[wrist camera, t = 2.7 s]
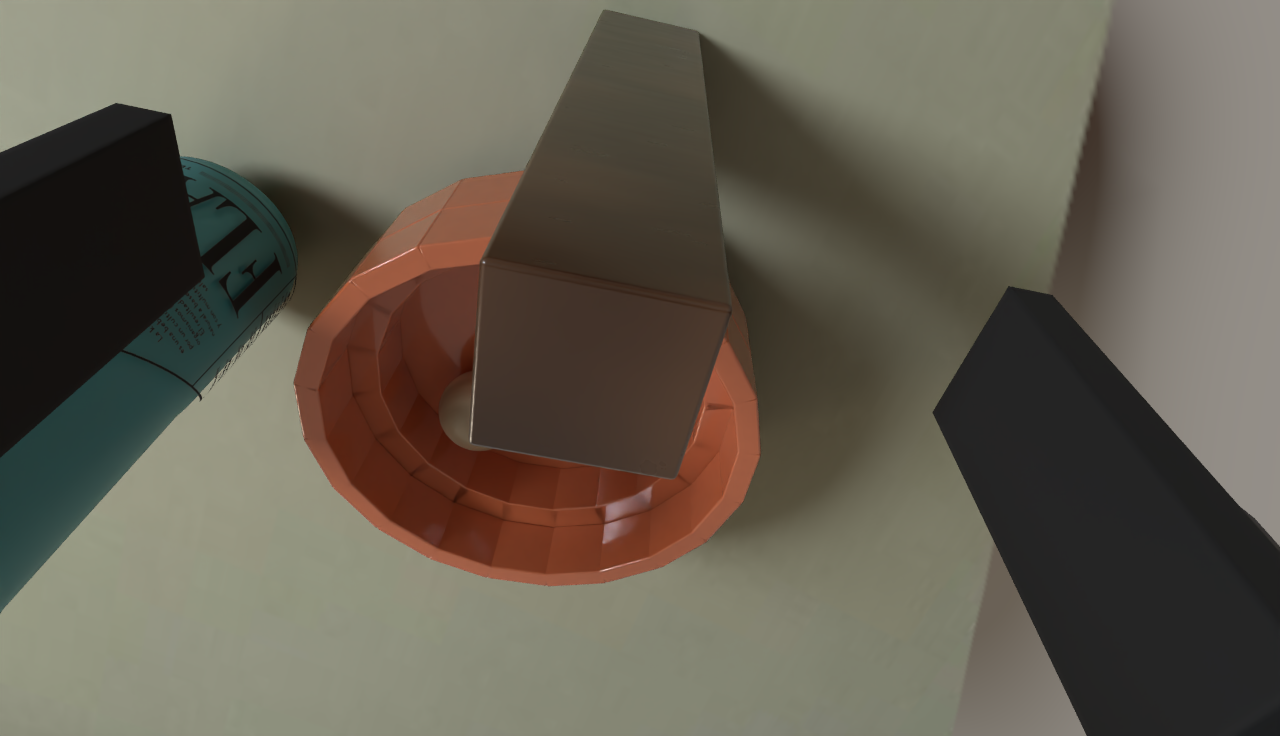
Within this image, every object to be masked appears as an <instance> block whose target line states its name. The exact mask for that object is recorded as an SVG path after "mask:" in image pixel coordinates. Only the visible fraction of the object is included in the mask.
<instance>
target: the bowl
mask: <svg viewBox="0 0 1280 736" xmlns="http://www.w3.org/2000/svg"><path fill="white" fill-rule="evenodd" d="M523 172H524V171H518V172H510V173H503V174H495V175H488V176H480V177H473V178H466V179H462V180H459V181H457V182H456V183H454V184H452V185H450V186H448V187H446V188H444V189H442V190H440V191H438V192H436V193H434V194H432V195H430V196H428V197H426V198H424V199H422V200H420V201H419V202H417V203H415V204H413V205H411V206H409V207H407V208H405V210H404V211H402V212H401V213H400V215H399V216H398V217H397V218H396V219H395V220H394V222H393V223H392V224H391V225H390V226H389V227H388V229H387V230H386V231H385V232H384V233H383V234H382V236H381V237H380V238H379V239H378V240H377V241H376V242H375V244H374V245H373V246H372V247H371V248H370V249H369V251H368V252H367V253H366V254H365V256H364V257H363V258H362V259H361V261H360V262H359V263H358V264H357V266H356V267H355V268H354V270H353V271H352V272H351V273H350V275H349V276H348V277H347V278H346V280H345V281H344V282H343V284H342V285H341V286H340V287H339V289H338V290H337V291H336V292H335V294H334V295H333V296H332V297H331V299H330V300H329V301H328V303H327V304H326V305H325V306H324V308H323V309H322V310H321V311H320V313H319V314H318V315H317V316H316V318H315V319H314V320H313V322H312V323H311V324H310V326H309V327H308V329H307V332H306V336H305V340H304V344H303V348H302V351H301V355H300V359H299V363H298V367H297V371H296V374H295V378H294V389H295V394H296V400H297V405H298V411H299V416H300V421H301V427H302V432H303V437H304V440H305V442H306V444H307V445H308V447H309V449H310V450H311V452H312V454H313V455H314V457H315V459H316V460H317V462H318V464H319V465H320V467H321V469H322V470H323V472H324V474H325V475H326V477H327V479H328V480H329V482H330V484H331V485H332V487H334V489H335V490H336V491H337V492H338V493H339V494H340V495H341V496H343V497H344V498H345V499H346V500H347V501H348V502H349V503H350V504H351V505H352V506H353V507H354V508H355V509H356V510H358V511H359V512H360V513H361V514H362V515H363V516H364V517H365V518H366V519H367V520H368V521H369V522H370V523H372V524H373V525H374V526H375V527H376V528H378V529H379V530H381V531H382V532H384V533H386V534H388V535H389V536H391V537H393V538H395V539H396V540H398V541H400V542H402V543H403V544H405V545H407V546H408V547H410V548H412V549H414V550H415V551H417V552H419V553H421V554H422V555H424V556H426V557H428V558H430V559H432V560H435V561H438V562H441V563H444V564H447V565H450V566H453V567H456V568H459V569H462V570H465V571H468V572H471V573H474V574H477V575H480V576H483V577H486V578H487V577H488V578H492V579H500V580H507V581H514V582H522V583H529V584H536V585H543V586H546V585H547V586H562V585H580V584H599V583H605V582H610V581H614V580H618V579H621V578H625V577H629V576H632V575H636V574H640V573H643V572H647V571H651V570H654V569H658V568H659V567H660V568H662V567H663V566H665V565H667V564H669V563H670V562H672V561H674V560H676V559H677V558H679V557H681V556H683V555H684V554H686V553H688V552H690V551H692V550H693V549H695V548H697V547H699V546H700V545H702V544H704V543H706V542H707V540H709V539H710V538H711V536H712V535H713V534H714V533H715V532H716V531H717V530H718V529H719V528H720V527H721V526H722V525H723V523H724V522H725V521H726V520H727V519H728V518H729V517H730V516H731V515H732V514H733V513H734V511H735V510H736V509H737V508H738V507H739V506H740V505H741V503H743V501H744V498H745V496H746V493H747V491H748V488H749V485H750V483H751V480H752V477H753V475H754V472H755V469H756V467H757V464H758V462H759V459H760V456H761V442H760V426H759V410H758V397H757V391H756V384H755V377H754V370H753V364H752V357H751V350H750V343H749V336H748V329H747V323H746V317H745V313H744V311H743V309H742V307H741V305H740V303H739V301H738V299H737V297H736V295H735V293H734V290H733V288H732V286H731V284H730V282H729V286H730V294H731V302H732V310H733V312H732V315H731V318H730V321H729V324H728V327H727V330H726V333H725V336H724V339H723V341H722V344H721V347H720V350H719V353H718V356H717V359H716V362H715V365H714V368H713V371H712V374H711V377H710V380H709V383H708V386H707V389H706V392H705V395H704V398H703V401H702V404H701V407H700V410H699V413H698V416H697V419H696V422H695V425H694V428H693V431H692V434H691V437H690V440H689V443H688V446H687V449H686V452H685V455H684V458H683V461H682V464H681V467H680V470H679V473H678V475H677V477H676V478H675V479H672V480H670V479H664V478H658V477H653V476H647V475H641V474H635V473H630V472H624V471H618V470H612V469H607V468H601V467H595V466H589V465H584V464H578V463H572V462H566V461H561V460H555V459H549V458H543V457H538V456H532V455H526V454H521V453H515V452H509V451H503V450H498V449H491V450H486V451H472V450H468V449H465V448H462V447H460V446H458V445H457V444H455V443H454V442H453V441H452V440H451V439H450V438H449V437H448V436H447V435H446V434H445V432H444V430H443V428H442V426H441V423H440V420H439V412H438V410H439V402H440V399H441V396H442V394H443V392H444V390H445V388H446V387H447V386H448V385H449V383H450V382H451V381H453V380H454V379H455V378H456V377H458V376H460V375H462V374H464V373H466V372H469V371H473V357H474V341H475V326H476V311H477V295H478V280H479V264H480V260H481V258H482V256H483V254H484V252H485V250H486V248H487V246H488V244H489V242H490V239H491V237H492V235H493V233H494V231H495V229H496V227H497V225H498V223H499V221H500V219H501V217H502V215H503V213H504V211H505V209H506V207H507V205H508V203H509V201H510V199H511V197H512V195H513V193H514V191H515V189H516V187H517V185H518V182H519V180H520V178H521V176H522V174H523Z"/></svg>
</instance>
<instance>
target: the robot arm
mask: <svg viewBox="0 0 1280 736" xmlns="http://www.w3.org/2000/svg"><path fill="white" fill-rule="evenodd" d="M204 278H205V274H204V270H203V265H202V260H201V255H200V250H199V246H198V241H197V236H196V231H195V226H194V222H193V217H192V212H191V207H190V202H189V198H188V193H187V188H186V183H185V178H184V174H183V169H182V164H181V159H180V154H179V150H178V145H177V140H176V135H175V130H174V126H173V121H172V116H171V114H167V113H162V112H157V111H153V110H148V109H143V108H138V107H133V106H128V105H123V104H118V103H115V104H113V105H110V106H108V107H106V108H103V109H101V110H99V111H96V112H94V113H92V114H89V115H87V116H85V117H82V118H80V119H78V120H75V121H73V122H71V123H68V124H66V125H64V126H61V127H59V128H57V129H54V130H52V131H50V132H47V133H45V134H43V135H40V136H38V137H36V138H33V139H31V140H29V141H26V142H24V143H22V144H19V145H17V146H15V147H12V148H10V149H8V150H5V151H3V152H0V458H1V457H2V456H3V455H4V454H5V453H6V452H8V451H9V450H10V449H11V448H12V447H13V446H14V445H15V444H17V443H18V442H19V441H20V440H21V439H22V438H23V437H25V436H26V435H27V434H28V433H29V432H30V431H31V430H32V429H34V428H35V427H36V426H37V425H38V424H39V423H40V422H42V421H43V420H44V419H45V418H46V417H47V416H48V415H49V414H51V413H52V412H53V411H54V410H55V409H56V408H57V407H59V406H60V405H61V404H62V403H63V402H64V401H65V400H66V399H68V398H69V397H70V396H71V395H72V394H73V393H74V392H76V391H77V390H78V389H79V388H80V387H81V386H82V385H83V384H85V383H86V382H87V381H88V380H89V379H90V378H91V377H93V376H94V375H95V374H96V373H97V372H98V371H99V370H100V369H102V368H103V367H104V366H105V365H106V364H107V363H108V362H110V361H111V360H112V359H113V358H114V357H115V356H116V355H117V354H119V353H120V352H121V351H122V350H123V349H124V348H125V347H127V346H128V345H129V344H130V343H131V342H132V341H133V340H134V339H136V338H137V337H138V336H139V335H140V334H141V333H142V332H144V331H145V330H146V329H147V328H148V327H149V326H150V325H151V324H153V323H154V322H155V321H156V320H157V319H158V318H159V317H161V316H162V315H163V314H164V313H165V312H166V311H167V310H168V309H170V308H171V307H172V306H173V305H174V304H175V303H176V302H178V301H179V300H180V299H181V298H182V297H183V296H184V295H185V294H187V293H188V292H189V291H190V290H191V289H192V288H193V287H195V286H196V285H197V284H198V283H199V282H200V281H201V280H202V279H204ZM933 414H934V416H935V419H936V421H937V423H938V425H939V427H940V429H941V431H942V433H943V435H944V437H945V439H946V442H947V444H948V446H949V448H950V450H951V452H952V454H953V456H954V458H955V460H956V463H957V465H958V467H959V469H960V471H961V473H962V475H963V477H964V479H965V481H966V483H967V486H968V488H969V490H970V492H971V494H972V496H973V498H974V500H975V502H976V504H977V507H978V509H979V511H980V513H981V515H982V517H983V519H984V521H985V523H986V525H987V527H988V530H989V532H990V534H991V536H992V538H993V540H994V542H995V544H996V546H997V548H998V550H999V552H1000V555H1001V557H1002V559H1003V561H1004V563H1005V565H1006V567H1007V569H1008V571H1009V574H1010V576H1011V577H1012V580H1013V582H1014V584H1015V586H1016V588H1017V590H1018V592H1019V594H1020V597H1021V599H1022V601H1023V603H1024V605H1025V607H1026V609H1027V611H1028V613H1029V615H1030V617H1031V620H1032V622H1033V624H1034V626H1035V628H1036V630H1037V632H1038V634H1039V636H1040V638H1041V641H1042V643H1043V645H1044V647H1045V649H1046V651H1047V653H1048V655H1049V657H1050V659H1051V661H1052V664H1053V666H1054V668H1055V670H1056V672H1057V674H1058V676H1059V678H1060V680H1061V683H1062V685H1063V686H1064V689H1065V691H1066V693H1067V695H1068V697H1069V699H1070V701H1071V703H1072V706H1073V708H1074V710H1075V712H1076V714H1077V716H1078V718H1079V720H1080V722H1081V724H1082V727H1083V729H1084V731H1085V733H1086V735H1087V736H1280V547H1279V545H1278V544H1277V543H1276V542H1275V541H1274V540H1273V538H1272V537H1271V536H1270V535H1269V534H1268V533H1267V532H1266V531H1265V529H1264V528H1263V527H1262V526H1261V525H1260V524H1259V523H1258V522H1257V520H1255V518H1253V517H1252V516H1251V515H1250V514H1248V513H1247V512H1246V511H1245V510H1243V509H1242V508H1241V507H1240V506H1239V505H1238V504H1237V503H1236V502H1235V501H1234V500H1233V498H1232V497H1231V496H1230V495H1229V494H1228V493H1227V492H1226V491H1225V489H1224V488H1223V487H1222V486H1221V485H1220V484H1219V483H1218V482H1217V481H1216V479H1215V478H1214V477H1213V476H1212V475H1211V474H1210V472H1209V471H1208V470H1207V469H1206V468H1205V467H1204V466H1203V465H1202V464H1201V462H1200V461H1199V460H1198V459H1197V458H1196V457H1195V456H1194V455H1193V454H1192V452H1191V451H1190V450H1189V449H1188V448H1187V447H1186V445H1185V444H1184V443H1183V442H1182V441H1181V440H1180V439H1179V438H1178V437H1177V435H1176V434H1175V433H1174V432H1173V431H1172V430H1171V428H1169V426H1168V425H1167V424H1166V423H1165V422H1164V421H1163V420H1162V418H1161V417H1160V416H1159V415H1158V414H1157V413H1156V412H1155V410H1154V409H1153V408H1152V407H1151V406H1150V405H1149V404H1148V403H1147V401H1146V400H1145V399H1144V398H1143V397H1142V396H1141V395H1140V394H1139V392H1138V391H1137V390H1136V389H1135V388H1134V387H1133V386H1132V384H1131V383H1130V382H1129V381H1128V380H1127V379H1126V378H1125V377H1124V376H1123V374H1122V373H1121V372H1120V371H1119V370H1118V369H1117V368H1116V366H1115V365H1114V364H1113V363H1112V362H1111V361H1110V360H1109V359H1108V358H1107V356H1106V355H1105V354H1104V353H1103V352H1102V351H1101V350H1100V348H1099V347H1098V346H1097V345H1096V344H1095V343H1094V342H1093V340H1092V339H1091V338H1090V337H1089V336H1088V335H1087V334H1086V333H1085V332H1084V330H1083V329H1082V328H1081V327H1080V326H1079V325H1078V324H1077V322H1076V321H1075V320H1074V319H1073V318H1072V317H1071V316H1070V315H1069V313H1068V312H1067V311H1066V310H1065V309H1064V308H1063V307H1062V305H1061V304H1060V303H1059V302H1058V301H1057V300H1056V299H1055V298H1054V297H1053V295H1049V294H1044V293H1040V292H1035V291H1030V290H1025V289H1020V288H1015V287H1010V286H1009V287H1008V288H1007V290H1006V292H1005V293H1004V295H1003V297H1002V298H1001V300H1000V302H999V303H998V305H997V306H996V308H995V310H994V311H993V313H992V315H991V316H990V318H989V320H988V321H987V323H986V325H985V326H984V328H983V330H982V331H981V333H980V335H979V336H978V338H977V340H976V341H975V343H974V344H973V346H972V348H971V349H970V351H969V353H968V354H967V356H966V358H965V359H964V361H963V363H962V364H961V366H960V368H959V369H958V371H957V373H956V374H955V376H954V378H953V379H952V381H951V382H950V384H949V386H948V387H947V389H946V391H945V392H944V394H943V396H942V397H941V399H940V401H939V402H938V404H937V406H936V407H935V409H934V411H933Z"/></svg>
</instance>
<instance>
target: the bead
mask: <svg viewBox="0 0 1280 736" xmlns="http://www.w3.org/2000/svg"><path fill="white" fill-rule="evenodd" d="M472 372H473V371H469V372H466V373H464V374H462V375H460V376H458V377H456V378H455V379H454V380H453V381H451V382H450V383H449V385H448V386H447V387H446V388H445V390H444V392H443V394H442V396H441V399H440V402H439V410H438V412H439V420H440V423H441V426H442V428H443V430H444V432H445V434H446V435H447V436H448V437H449V438H450V439H451V440H452V441H453V442H454V443H455V444H457V445H458V446H460V447H462V448H465V449H468V450H472V451H486V450H491V449H492V448H486V447H480V446H475V445H472V444H470V442H469V439H468V434H469V418H470V403H471V388H472Z"/></svg>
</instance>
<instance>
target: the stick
mask: <svg viewBox="0 0 1280 736" xmlns="http://www.w3.org/2000/svg"><path fill="white" fill-rule="evenodd" d="M732 312H733V310H732V302H731V294H730V286H729V278H728V269H727V261H726V253H725V245H724V237H723V228H722V220H721V212H720V204H719V195H718V187H717V179H716V171H715V163H714V154H713V146H712V138H711V130H710V122H709V113H708V105H707V97H706V89H705V81H704V72H703V64H702V56H701V48H700V39H699V32H698V31H695V30H691V29H687V28H682V27H678V26H674V25H669V24H665V23H661V22H656V21H652V20H648V19H643V18H639V17H635V16H630V15H626V14H622V13H618V12H613V11H609V10H603V12H602V13H601V15H600V18H599V20H598V22H597V24H596V26H595V28H594V30H593V32H592V34H591V36H590V38H589V40H588V42H587V44H586V46H585V48H584V50H583V52H582V54H581V56H580V58H579V60H578V62H577V64H576V66H575V68H574V70H573V73H572V75H571V77H570V79H569V81H568V83H567V85H566V87H565V89H564V91H563V93H562V95H561V97H560V99H559V101H558V103H557V105H556V107H555V109H554V111H553V113H552V115H551V117H550V119H549V121H548V123H547V125H546V127H545V130H544V132H543V134H542V136H541V138H540V140H539V142H538V144H537V146H536V148H535V150H534V152H533V154H532V156H531V158H530V160H529V162H528V164H527V166H526V168H525V170H524V172H523V174H522V176H521V178H520V180H519V182H518V185H517V187H516V189H515V191H514V193H513V195H512V197H511V199H510V201H509V203H508V205H507V207H506V209H505V211H504V213H503V215H502V217H501V219H500V221H499V223H498V225H497V227H496V229H495V231H494V233H493V235H492V237H491V239H490V242H489V244H488V246H487V248H486V250H485V252H484V254H483V256H482V258H481V260H480V264H479V280H478V295H477V311H476V326H475V341H474V357H473V372H472V388H471V403H470V418H469V434H468V439H469V442H470V444H472V445H475V446H480V447H486V448H492V449H498V450H503V451H509V452H515V453H521V454H526V455H532V456H538V457H543V458H549V459H555V460H561V461H566V462H572V463H578V464H584V465H589V466H595V467H601V468H607V469H612V470H618V471H624V472H630V473H635V474H641V475H647V476H653V477H658V478H664V479H670V480H672V479H675V478H676V477H677V475H678V473H679V470H680V467H681V464H682V461H683V458H684V455H685V452H686V449H687V446H688V443H689V440H690V437H691V434H692V431H693V428H694V425H695V422H696V419H697V416H698V413H699V410H700V407H701V404H702V401H703V398H704V395H705V392H706V389H707V386H708V383H709V380H710V377H711V374H712V371H713V368H714V365H715V362H716V359H717V356H718V353H719V350H720V347H721V344H722V341H723V339H724V336H725V333H726V330H727V327H728V324H729V321H730V318H731V315H732Z"/></svg>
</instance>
